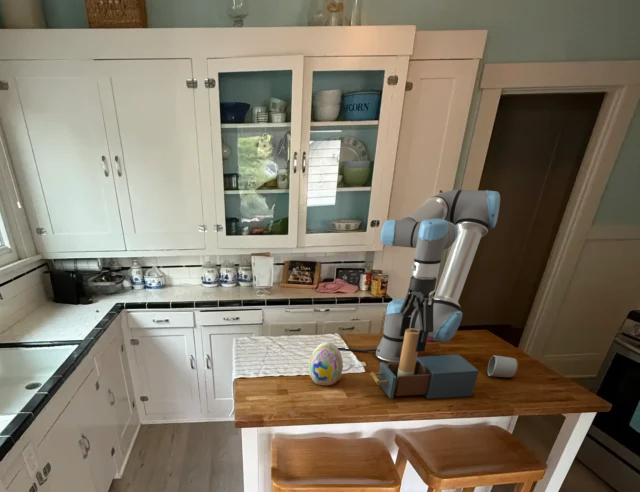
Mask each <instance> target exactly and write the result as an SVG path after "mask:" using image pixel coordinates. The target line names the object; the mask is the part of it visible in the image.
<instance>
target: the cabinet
mask: <svg viewBox="0 0 640 492" xmlns="http://www.w3.org/2000/svg"><path fill="white" fill-rule="evenodd" d="M416 361H419V362H420V363H421V364H422V365H423V366H424V367H425V368H426V369H427V370H428V371H429V372H430V373H431V374H432V376H431V381H430V385H429V389H428V394H423V396H424V397H425V398H426V399H427V400H434V399H448V398H463V397H465V398H466V397H472V396H473V394H474V393H473V392H474V389H475V385H476V382H477V379H478V375H479V369H477V368H476V367H475V366H474V365H473V364H472V363H470V362H469V361H467V360H466V359H465V358H464V357H462V355H461V354H444V355H443V354H441V355H429V356H427V355H425V356H417V360H416Z"/></svg>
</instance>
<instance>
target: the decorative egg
mask: <svg viewBox="0 0 640 492" xmlns="http://www.w3.org/2000/svg"><path fill="white" fill-rule="evenodd" d="M337 347H338V346H336V345H335V344H334V343H332V342H331V341H324V342H322V343H321V344H319V345H318V346H316V347H315V349H313V352H312V353H311V355H310V358H309V362H308V372H309V377H310V378H311V380H312V381H313V382H314V383H315V384H316V385H319V386H323V387H324V386H325V387H326V386H332V385H334V384H336V383H337V382H338V381H339V380H340V378H341V376H342V374H343V370H344V361H343V357H342V354H341V350H339V349H338V348H337Z"/></svg>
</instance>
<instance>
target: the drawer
mask: <svg viewBox="0 0 640 492" xmlns="http://www.w3.org/2000/svg"><path fill="white" fill-rule="evenodd" d="M399 363H400V362H398V363H387V364H386V362H383V361H380V364H379V371H378V372H374V371H370V372H369V376H370V377H371V379H372V381H374V382H375V384H376V385H379V386H380V387H381V389H382V390H383V391H384V393H385V394H386V395H387V397H388V398H389V399H394V396H395V397H402V396H403V397H404V396H417V395H418V396H419V395H424V394H428V389H429V385H430V381H431V376H432V374H431V373H430V372H429V371H428V370H427V369H426V368H425V367H424V366H423V365H422V364H421V363H420V362H419V361H416V365H415V371H414V375H405V376H399V378H398V383H397V387H396V380H397V374H398V368H399Z"/></svg>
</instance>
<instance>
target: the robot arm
mask: <svg viewBox="0 0 640 492" xmlns="http://www.w3.org/2000/svg"><path fill="white" fill-rule="evenodd" d="M500 206H501V195H500V193H499V191H496V190H489V189H486V190H477V189H476V190H473V189H472V190H471V189H451V190H446V191H443V192H441V193H438V194H435V195H434V196H432V197H429V198H428V199H427V200H425V201H424V202H423V204H422V205H421V207H418V208H417V209H416V210H414V211H412V212H410V213H409V214H407V215H406V216H405V217H403V218H401V219H387V220H386V221H385V222H384V223H383V225H382V227H381V232H380V241H381V244H383V245H384V246H385V245H386V246H390V247H399V248H400V247H402V248H412V249H415V252H414V258H413V264H412V265H411V277H410V280H409V284H408V285H409V286H408V289H407V292H406V295H405V297H402V298H397V299H393V300H391V301H389V303H387V306H386V312H385V318H384V325H383V331H382V332H383V333H382V338H381V340H380V341H379V344H378V346H377V347H375V348H366V349H360V348H359V349H358V348H351V347H348V348H349V349H345V348H346V347H342V348H338V350H339V351H351V352H356V353H367V352H375V358H376V359H377V360H379V361H380V362H384V363H385V364H386V363H387V364H388V363H398V362H400V358H401V352H402V346H403V341H404V335H405V330H406V329H409V328H415V329H419V330H420V331H419V334H418V339H417V344H416V349H415V351H416V352H418V353H420V352H425V350H426V346H427V342H428V341H427V339H431V340H434V341H433V342H443V343H448V342H449V341H451V339H453V338H454V336H455V334H456V333H457V331H458V329H459V327H460V325H461V322H462V319H463V315H464V314H463V312H462V311H461V305H460V303H459V301H460V297H461V295H462V292H463V289H464V286H465V283H466V281H467V278H468V275H469V272H470V270H471V267H472V264H473V262H474V258H475V256H476V253H477V250H478V247H479V244H480V241H481V239H482V238H483V237H485V236H486V235H487V234H488V233H489V230H490V229H494V228H495V227H496V225H497V223H498V218H499V212H500ZM449 248H450V250H449V252H448V253H449V254H448V256H447V259H446V261H445V264H444V268H443V270H442V273H441V276H440V278H439V281H438V279H437V277H438V276H439V272H440V267H441V261H442V258H443V257H442V256H443V252H444V250H447V249H449ZM437 281H438V284H437ZM436 285H437V287H436ZM434 291H435V293H434V296H432V297H430V294H431V293H433V292H434Z"/></svg>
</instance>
